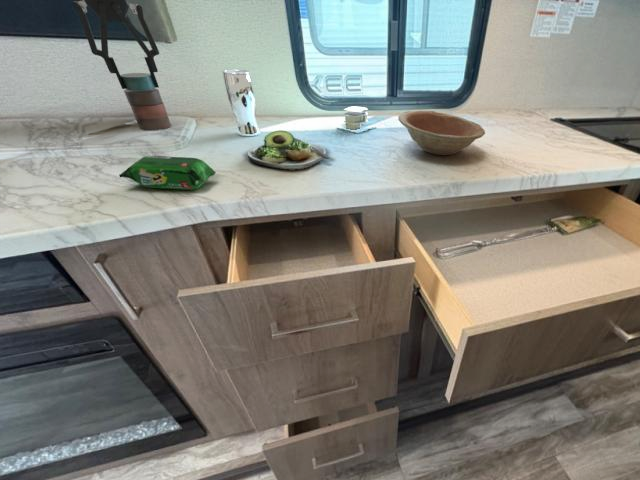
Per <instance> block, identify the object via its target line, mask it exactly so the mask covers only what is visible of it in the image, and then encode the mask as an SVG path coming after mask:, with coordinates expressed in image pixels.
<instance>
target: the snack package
mask: <svg viewBox="0 0 640 480" xmlns="http://www.w3.org/2000/svg"><path fill="white" fill-rule="evenodd" d="M215 175H216V171H215V170H214V169H213V168H212V167H211V166H209V164H208V163H206V162H205V161H204V160H202V159H201V158H197V157H187V156H186V157H183V156H182V157H181V156H180V157H179V156H169V155H168V156H167V155H146V156H143V157H142V158H141V157H140V159H139V160H137V161H136V162H133V164H131V165H130V166H128V167H127V168H126V169H125V170H124V171H122V172H121V173H119V174H118V176H119V178H127V179H129V180H131V181H134V182H135V183H136V184H138V185H140V186H144V187H147V188H152V189H160V190H181V191H182V190H188V191H190V190H191V191H192V190H197V189H199V188H200V187H202V185H204V184H205V183H206V182H207V181H208V180H209V179H210V177H212V176H215Z"/></svg>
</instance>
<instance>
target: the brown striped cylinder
mask: <svg viewBox="0 0 640 480" xmlns="http://www.w3.org/2000/svg"><path fill="white" fill-rule="evenodd" d="M123 92H124V95H125V97H126V100H127V102H128V104H129V107H130V109H131V111H132V114H133V116H134V118H135V121H136V124H137V125H138V128H139V129H140V130H142V129H144V130H143V131H160V130H159V129H162V130H166V129H169V128H171V127H172V123H171V120H170V118H169V115H168V112H167V108H166V106H165V103H164V101H163V99H162V96H161V93H160V90H159V88H155V89H152V90H144V91H132V90H126V89H123ZM170 126H171V127H170ZM168 127H169V128H168ZM165 128H166V129H165Z"/></svg>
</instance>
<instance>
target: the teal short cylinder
mask: <svg viewBox="0 0 640 480" xmlns="http://www.w3.org/2000/svg"><path fill="white" fill-rule="evenodd" d="M120 76H121V79H122V81H123V83H124V86H125V88H126V89H125V90H132V91H144V90H152V89H157V88H156V87H155V84H154V81H153V79H152V76H151V74H150V73H146V72H128V73H121V74H120Z"/></svg>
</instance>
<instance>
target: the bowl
mask: <svg viewBox="0 0 640 480" xmlns="http://www.w3.org/2000/svg"><path fill="white" fill-rule="evenodd" d="M397 120H398V121H399V122H400V124H401V125H402V126H403V127H404V128H406V129H407V132H408V133H409V136H410V138H411V140H413V142H415V143H416V144H417V146H418V147H420V148H421V149H422V150H423V151H425V152H427V153H429V154H431V155H436V156H437V155H438V156H451V155H454V154H456V153H458V152H460V151H462V150H464V149H467V148H468V147H470V145H472V144H473V142H475V141H476V140H478V139H481V138H482V137H483V136H484V135H486V131H485V129H484V128H483V127H482V125H480V124H479V123H477V122H474V121H472V120H468V119H466V118H464V117H461V116H456V115H452V114H449V113H444V112H438V111H434V110H409V111H405V112H402V113H400V114H398V117H397Z"/></svg>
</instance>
